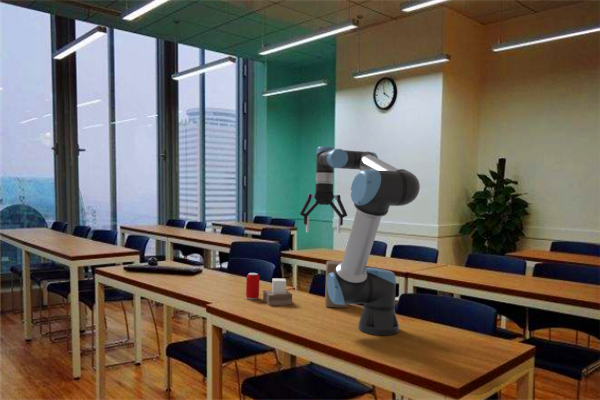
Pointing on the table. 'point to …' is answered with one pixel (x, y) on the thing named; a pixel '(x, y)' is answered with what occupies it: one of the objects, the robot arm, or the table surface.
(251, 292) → the beverage can
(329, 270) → the wooden block
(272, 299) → the walnut block
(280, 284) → the cream cube
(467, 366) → the table surface
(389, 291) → the robot arm
